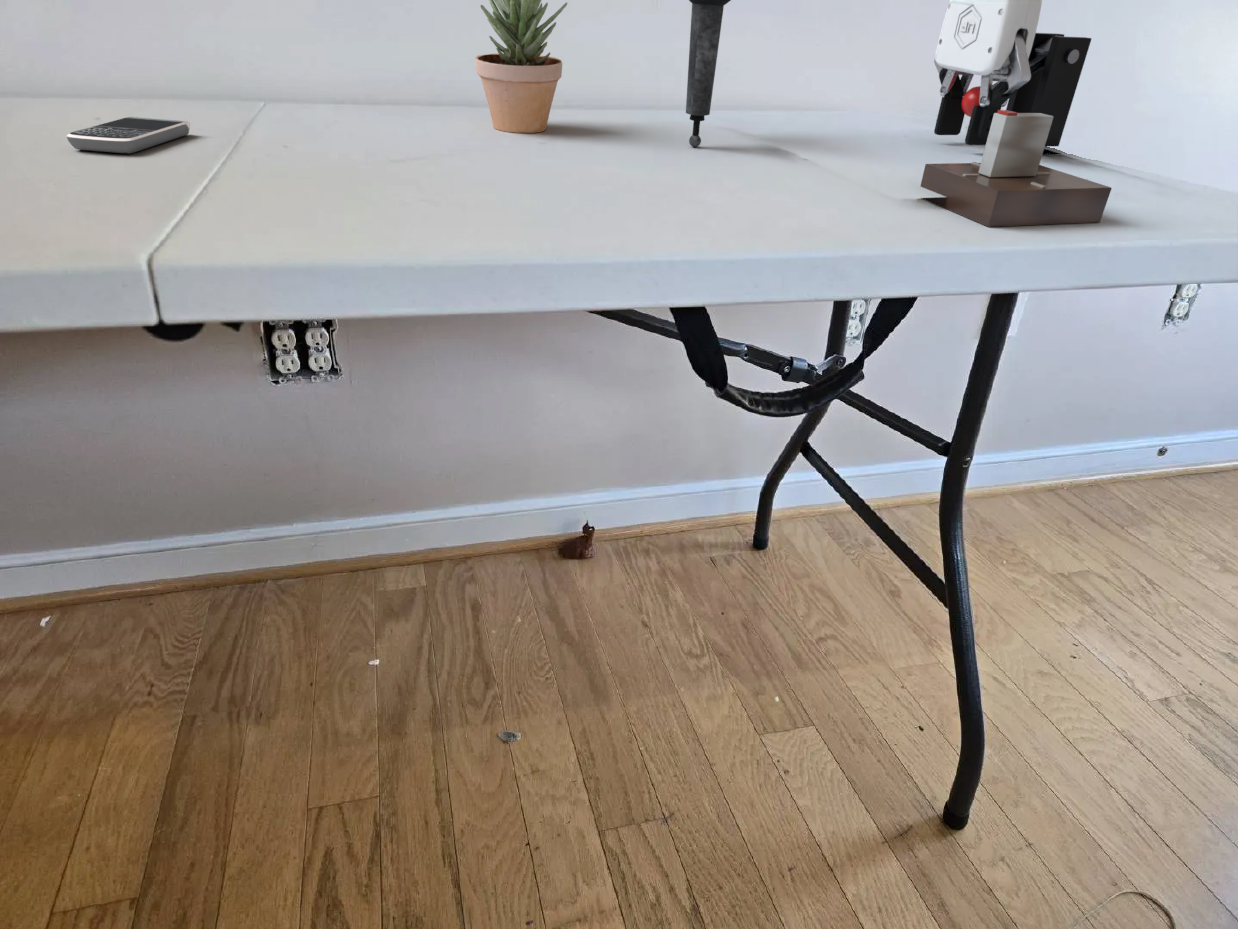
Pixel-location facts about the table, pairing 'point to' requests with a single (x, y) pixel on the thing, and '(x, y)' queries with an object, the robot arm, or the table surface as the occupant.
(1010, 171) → the grey block
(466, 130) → the table surface
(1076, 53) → the bracket
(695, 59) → the dark grey tapered rod
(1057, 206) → the brown flat block
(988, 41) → the robot arm
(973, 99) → the switch lever
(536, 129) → the potted plant
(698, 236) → the table surface
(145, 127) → the cell phone
